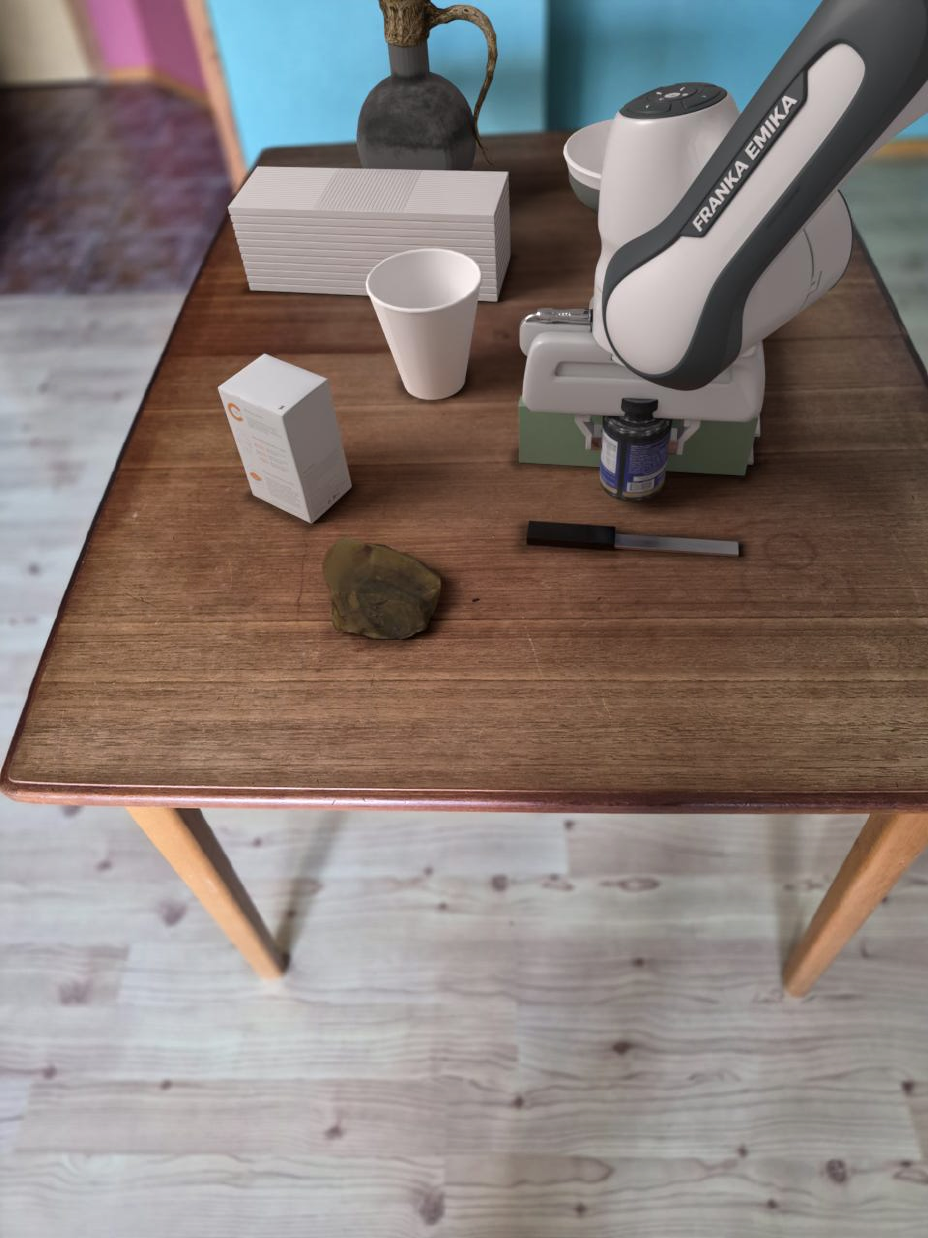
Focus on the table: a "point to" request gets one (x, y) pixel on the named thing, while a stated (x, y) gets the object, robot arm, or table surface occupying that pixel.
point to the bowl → (587, 161)
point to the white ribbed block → (366, 224)
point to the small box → (287, 436)
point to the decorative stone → (379, 590)
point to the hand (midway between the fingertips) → (634, 448)
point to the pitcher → (421, 96)
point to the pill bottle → (634, 451)
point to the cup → (427, 316)
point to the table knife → (620, 540)
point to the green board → (703, 452)
